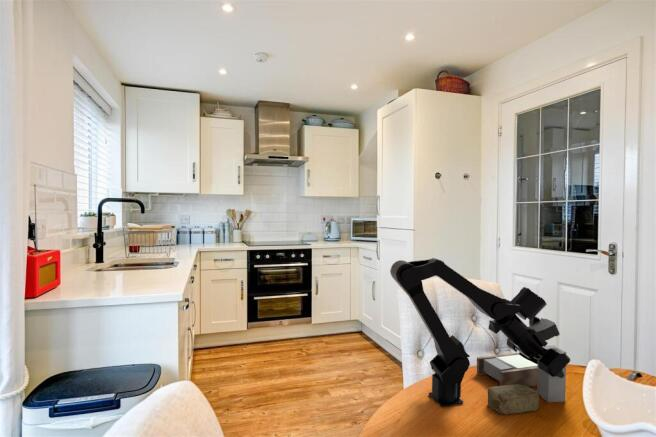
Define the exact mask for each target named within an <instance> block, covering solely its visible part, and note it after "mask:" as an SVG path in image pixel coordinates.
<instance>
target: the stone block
mask: <svg viewBox="0 0 656 437" xmlns="http://www.w3.org/2000/svg"><path fill="white" fill-rule="evenodd" d="M539 402H540V395H539V394H538V393H537V390H534V389H533V388H531V387H528V386H526V385H521V384H516V385H504V386H500V385H499V386H490V387H488V388H487V405H488V407H489V408H490V409H492V410H493V411H496V412H497V413H498V414H500V415H501V414H502V415H514V414H520V413H521V414H522V413H523V414H524V413H529V412H535V411H537V410H538V407H539Z"/></svg>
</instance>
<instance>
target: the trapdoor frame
mask: <svg viewBox="0 0 656 437" xmlns="http://www.w3.org/2000/svg"><path fill="white" fill-rule="evenodd" d="M512 355H519V353H518V352H514V353H513V352H512V353H505V354H495V355H488V356H479V357H476V374H477V375H478V376H484V375H488V374H487V373H485V372H484V359H493V358H496V357H503V356H512ZM516 384H521V385H526V386H528V387H529V388H531V387H537V366H535V367H528V368H520V369H512V370H505V371H500V381H499V386H504V385H516Z"/></svg>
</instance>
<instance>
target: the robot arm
mask: <svg viewBox="0 0 656 437" xmlns="http://www.w3.org/2000/svg"><path fill="white" fill-rule="evenodd" d="M389 272H390V276H391V277H392V279H393V280H394V282H396V283H397V285H398V286H399V287H400V288H401V289H402V290H403V292H404V293H406V295H407V296H408V297H409V299H410V301H411V303H412V305H413V306H414V308H415V310H416V312H417V314H418V316H419V317H420V318H421V320H422V321H423V324H424V326H425V327H426V329H427V331H428V333H429V334H430V336H431V338H432V339H433V341H434V347H435V351H436V353H437V354H436V355H435V356H434V357H433V358H432V359H431V360H430V361H429V365H430V368H431V370H432V371H433V372H434V373H433V374H431V375H432V376H431V380H432V381H431V392H428V396H429V397H430V398H431V399H433V400H434V401H435V403H436V404H438V405H439V406H440V407H443V408H445V407H450V406H456V405H463V404H464V401H463V399H461V397H462V396H461V395H462V390H461V389H462V382H463V379H464V378H465V374H466V372H468V370H469V368H470V364H471V362H470V360H469V358H470V357H471V356H470V354H469V353H467V352H466V349H465V346H464V344H463V343H462V341H460V340H459V339H458V338H457V337H456V336H454V335H449V333H448V331H447V330H446V327H445V326H444V324H443V323H442V321H441V318H440V317H439V316H438V314H437V312H436V310H435V309H434V306H433V305H432V302H430V300H429V298H428V296H427V294H426V293H425V290H424V286H423V281H424V280H427V279H430V278H434V277H438V278H439V279H440V280H442V281H443V282H444V283H446V284H448V285H449V286H450V287H452V288H453V289H455V291H457V292H459V293H460V294H462V295H463V296H465V297H466V298H467V299H468V300H469V301H470V303H471V304H472V305H473V306H474V307H475V308H476V309H477V310H478V311H479V312H480V313H482V314H483V315H485V316H486V317H489V318H490V320H489V321H488V323H489V324H488V330H489V331H491V332H492V333H494V334H498V333H499V332H502V334H503V335H504V336H505V337H506V338H507V339H506V346H507V347H508V348H510V350H512V351H513V352H514V353H518V352H519V355H520V356H522V357H523V358H525V359H527V360H529V361H531V362H533V363H535V364H538V360H539V359H540V357H542V358H541V359H540V360H539V368H540V369H541V370H543V371H544V372H546V373H547V374H549V375H550V376H552V377H555V376H557V377H559V378H563V377H564V373H563V371H562V369H563V368H564V367H565V366H566V367H567V365H569V364H570V362H571V358H570V357H569V356H568V354H567V353H566V354H565V353H563V352H562V351H560V350H558V349H556V348H551V349H545V348H543V346H544V347H545V346H548V344H549V343H548V342H547V341H549V340H551V339H552V338H555V337H558V336H560V335H561V334H560V331H559V328H558V326H557V325H556V322H554V321H552V320H550V319H548V318H543V317H541V318H539V317H538V316H537V315H538V314H539V313H541V311H542V310H543V309H544V308H545V307H546V306H547V305H548V304H547V301H546V300H545V299H544V298H543V297H541V296H539V294H537V293H535V292H533V291H532V289H530V288H528V287H526V286H523V287H522V288H521V289H520V291H519V292H518V293H517V294H516V295H515V296H514V297H513V298H512V299H511V300H509V299H507V298H501V297H500V296H498V295H495V294H493V293H491V292H489V291H486V290H484V289H482V288H480V287H478V286H477V285H476V284H474V283H473V282H471V281H470V280H468V279H467V278H465V277H464V276H463V275H461V274H460V273H458V272H457V271H455V269H453V268H451V267H450V266H448V265H447V264H446V263H445V262H444V261H443V260H441V259H438V258H434V257H432V258H429V259H424V260H422V259H420V260H411V261H406V260H397V261H395V262H394V263H392V266H391V268H390V270H389ZM491 319H492V320H491ZM527 319H528V325H529V326H528V325H527V324H525V323H524V321H526V320H527ZM538 355H539V356H538Z"/></svg>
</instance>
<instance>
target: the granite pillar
mask: <svg viewBox="0 0 656 437" xmlns="http://www.w3.org/2000/svg"><path fill="white" fill-rule="evenodd" d="M543 348H545V349H551V348H556V349H558V350H560V351H562V352H563V353H565V354H566V355H567V351H566V350H563V349H561V348H559V347H558V346H556V345H546V346H545V347H544V346H543ZM538 356H539V355H538ZM541 358H542V357H540V359H541ZM540 359H539V360H540ZM539 360H538V364H537V386H536V392H537V393H538V395H539V397H541V398H542V399H544V400H545V401H547V403H560V402H561V403H563V402H564V403H565V402H566V387H567V386H566V382H567V380H566V379H567V365H566V366H565V367H564V368H563V369H562V371H563V373H564V377H563V378H559V377H557V376H555V377H552V376H550V375H549V374H547V373H546V372H544V371H543V370H541V369H540V368H539Z"/></svg>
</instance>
